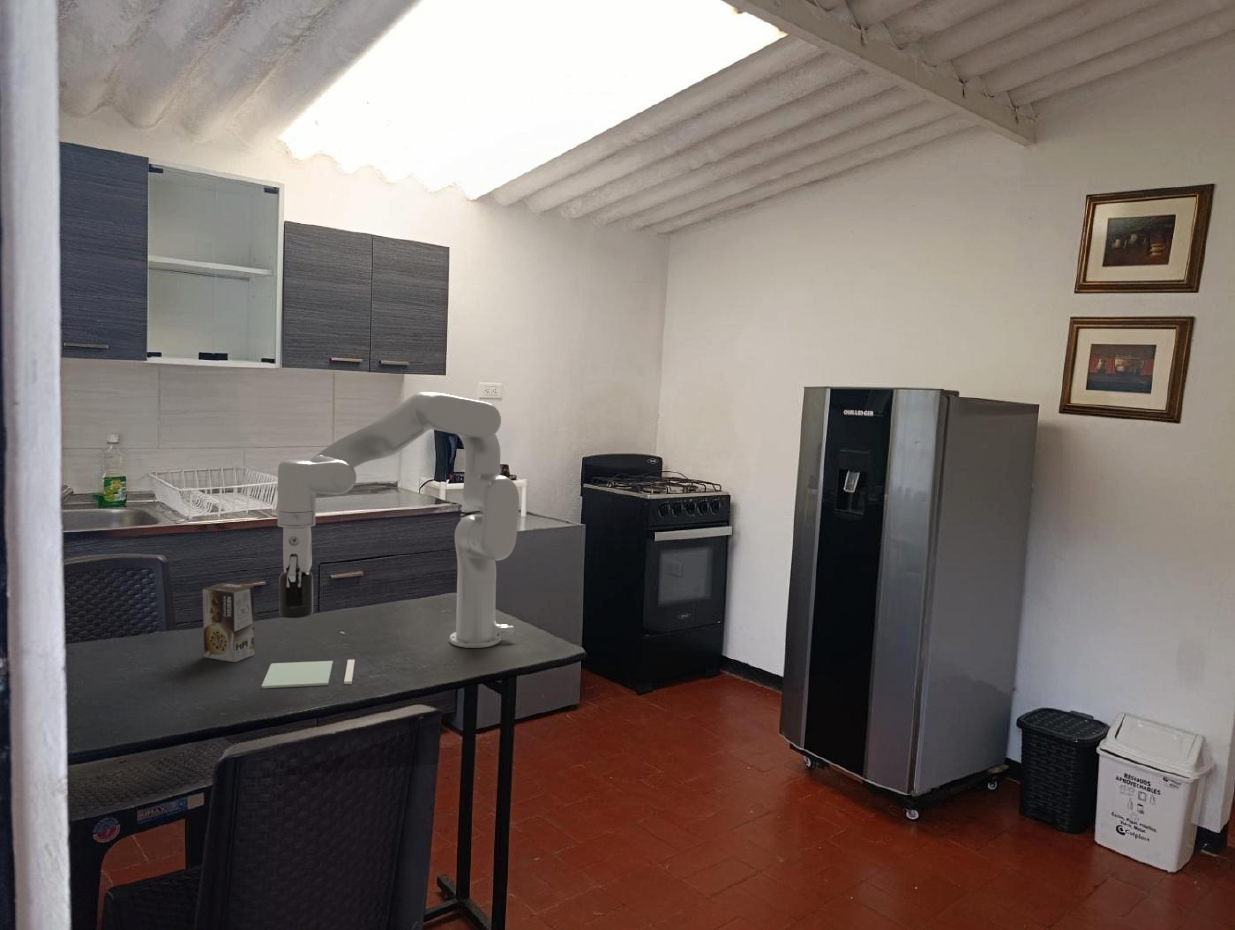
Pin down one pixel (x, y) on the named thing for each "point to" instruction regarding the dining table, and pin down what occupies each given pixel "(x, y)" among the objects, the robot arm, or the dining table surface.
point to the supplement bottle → (307, 603)
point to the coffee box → (228, 622)
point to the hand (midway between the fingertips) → (296, 600)
